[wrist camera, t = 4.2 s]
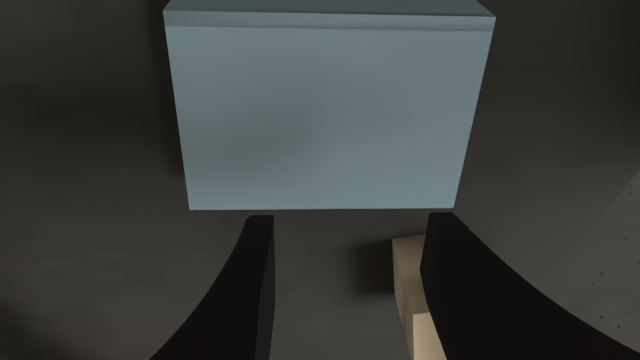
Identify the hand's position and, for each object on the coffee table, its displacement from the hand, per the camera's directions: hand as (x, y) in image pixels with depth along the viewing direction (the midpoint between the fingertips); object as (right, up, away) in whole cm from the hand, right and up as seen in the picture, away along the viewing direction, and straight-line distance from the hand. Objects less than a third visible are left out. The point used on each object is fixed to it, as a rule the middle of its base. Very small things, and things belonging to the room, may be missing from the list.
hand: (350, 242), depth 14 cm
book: (-1, +5, +7) cm, 9 cm away
